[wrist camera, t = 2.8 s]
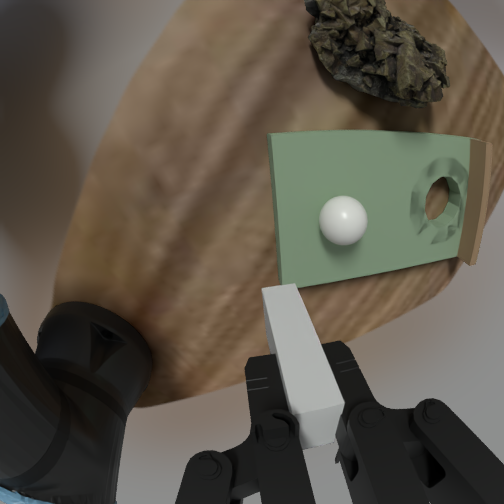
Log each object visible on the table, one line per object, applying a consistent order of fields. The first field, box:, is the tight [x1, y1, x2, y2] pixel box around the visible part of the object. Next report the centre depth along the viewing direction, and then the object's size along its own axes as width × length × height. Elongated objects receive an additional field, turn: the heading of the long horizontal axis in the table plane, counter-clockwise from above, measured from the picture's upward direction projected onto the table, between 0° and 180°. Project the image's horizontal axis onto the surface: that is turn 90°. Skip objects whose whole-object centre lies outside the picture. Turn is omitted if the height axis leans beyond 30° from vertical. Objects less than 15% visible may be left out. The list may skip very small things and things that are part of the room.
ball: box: [319, 196, 368, 245], centre depth 23 cm, size 4×4×4 cm
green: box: [267, 130, 492, 288], centre depth 25 cm, size 24×14×4 cm, turn 96°
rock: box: [304, 0, 450, 108], centre depth 18 cm, size 13×10×10 cm
